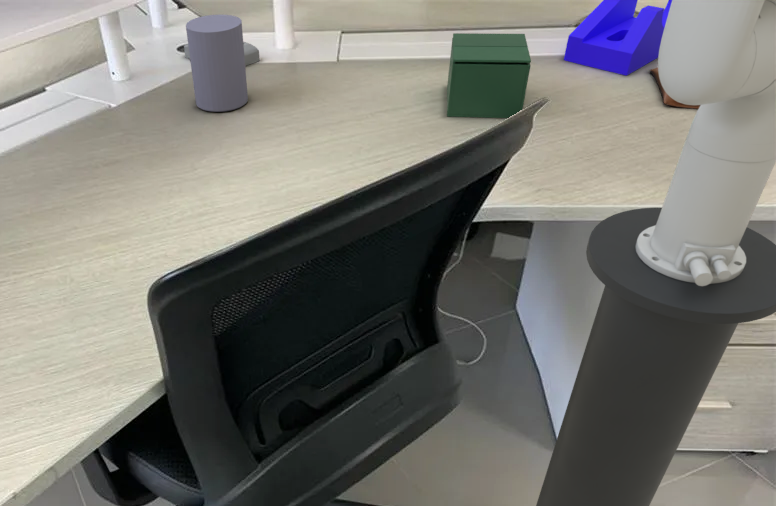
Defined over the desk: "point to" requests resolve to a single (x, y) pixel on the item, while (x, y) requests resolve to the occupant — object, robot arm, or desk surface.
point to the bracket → (618, 37)
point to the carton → (486, 79)
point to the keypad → (249, 53)
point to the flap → (491, 54)
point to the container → (217, 62)
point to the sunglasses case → (666, 97)
